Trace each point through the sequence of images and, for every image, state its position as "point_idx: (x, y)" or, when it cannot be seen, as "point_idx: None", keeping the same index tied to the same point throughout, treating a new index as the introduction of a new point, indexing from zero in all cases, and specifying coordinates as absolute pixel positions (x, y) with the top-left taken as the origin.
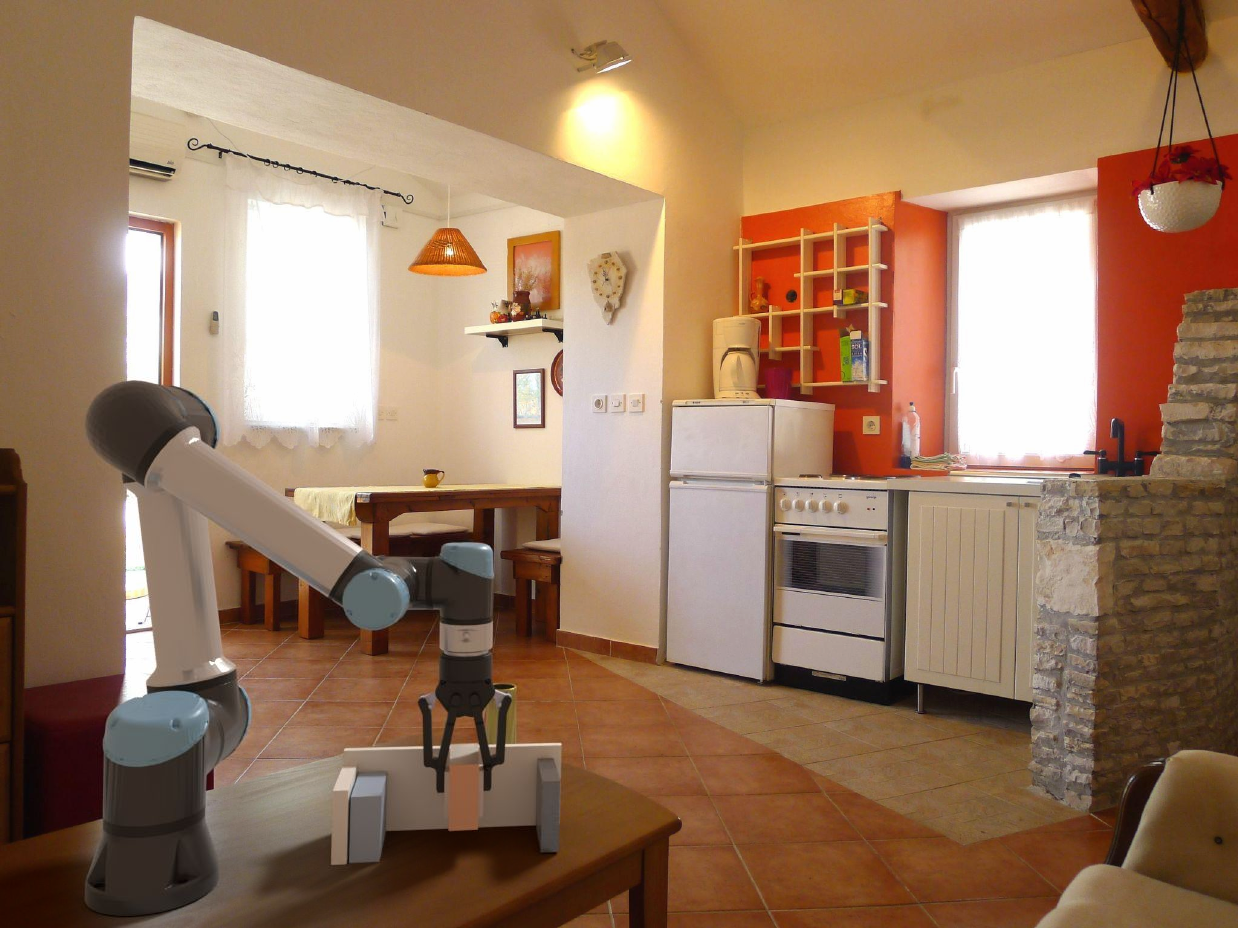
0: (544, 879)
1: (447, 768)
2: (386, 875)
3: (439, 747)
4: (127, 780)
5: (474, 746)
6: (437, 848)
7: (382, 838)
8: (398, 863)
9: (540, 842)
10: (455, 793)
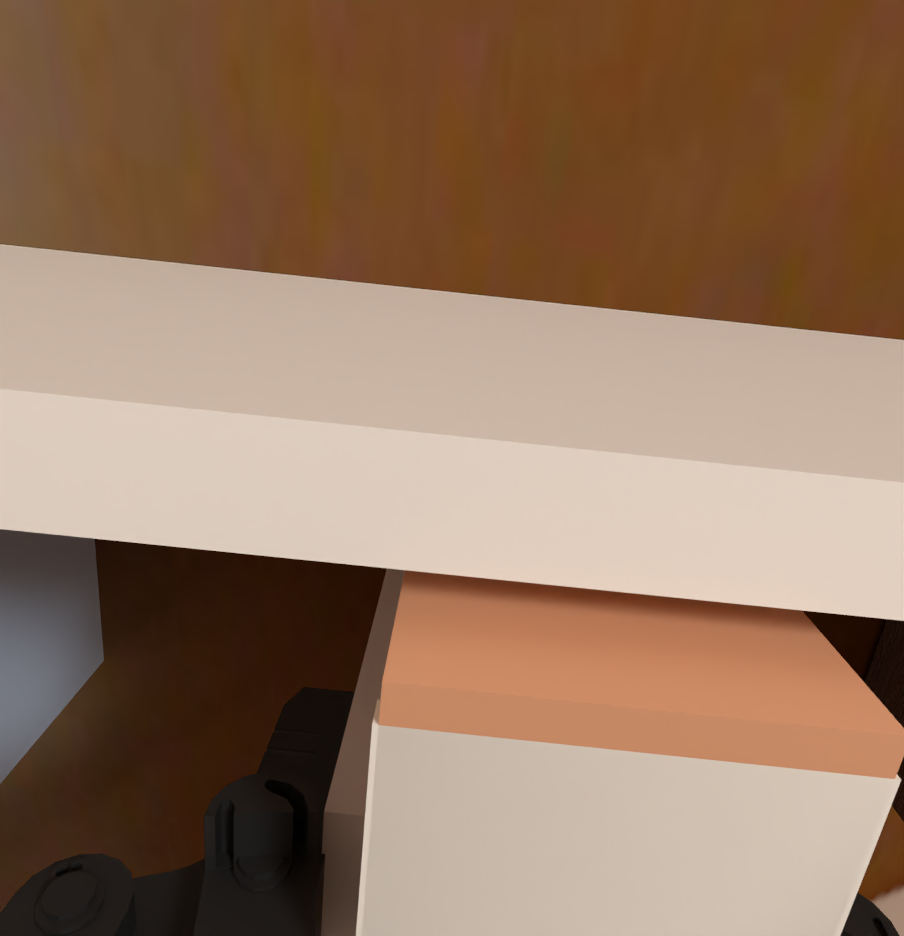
0: None
1: (350, 876)
2: (154, 784)
3: (197, 506)
4: None
5: (782, 890)
6: (369, 584)
7: (66, 551)
8: (192, 696)
9: None
10: None
